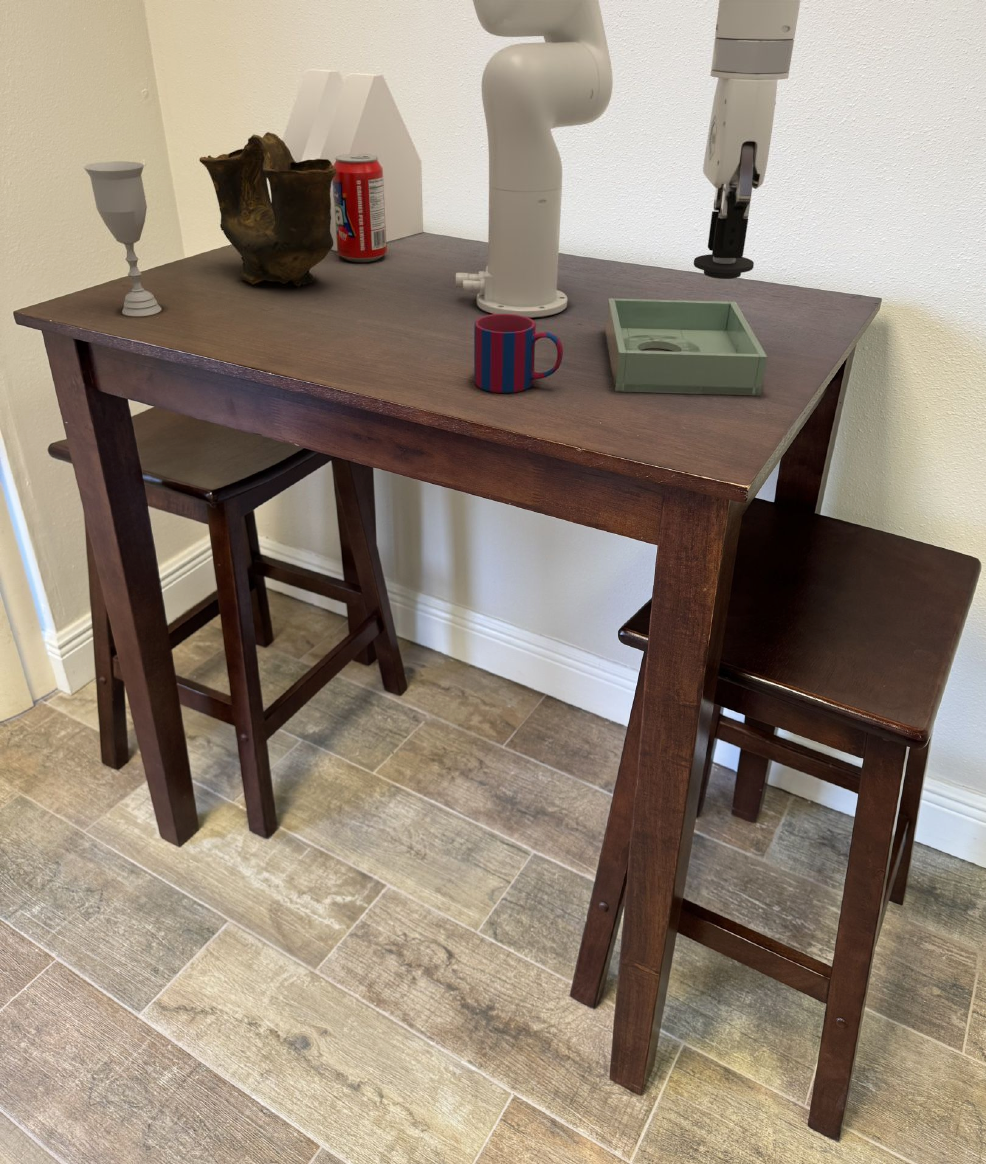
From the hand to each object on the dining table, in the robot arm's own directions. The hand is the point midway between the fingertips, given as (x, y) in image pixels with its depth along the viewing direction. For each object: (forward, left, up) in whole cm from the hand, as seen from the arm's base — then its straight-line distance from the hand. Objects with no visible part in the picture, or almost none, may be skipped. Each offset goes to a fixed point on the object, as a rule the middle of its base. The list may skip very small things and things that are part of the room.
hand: (724, 252), depth 102 cm
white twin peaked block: (-52, +63, -14) cm, 83 cm away
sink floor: (-3, +4, -14) cm, 15 cm away
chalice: (-73, +18, -14) cm, 76 cm away
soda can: (-48, +48, -14) cm, 69 cm away
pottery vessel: (-58, +34, -14) cm, 69 cm away
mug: (-22, -5, -14) cm, 27 cm away
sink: (-3, +4, -14) cm, 15 cm away
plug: (0, 0, -2) cm, 2 cm away
